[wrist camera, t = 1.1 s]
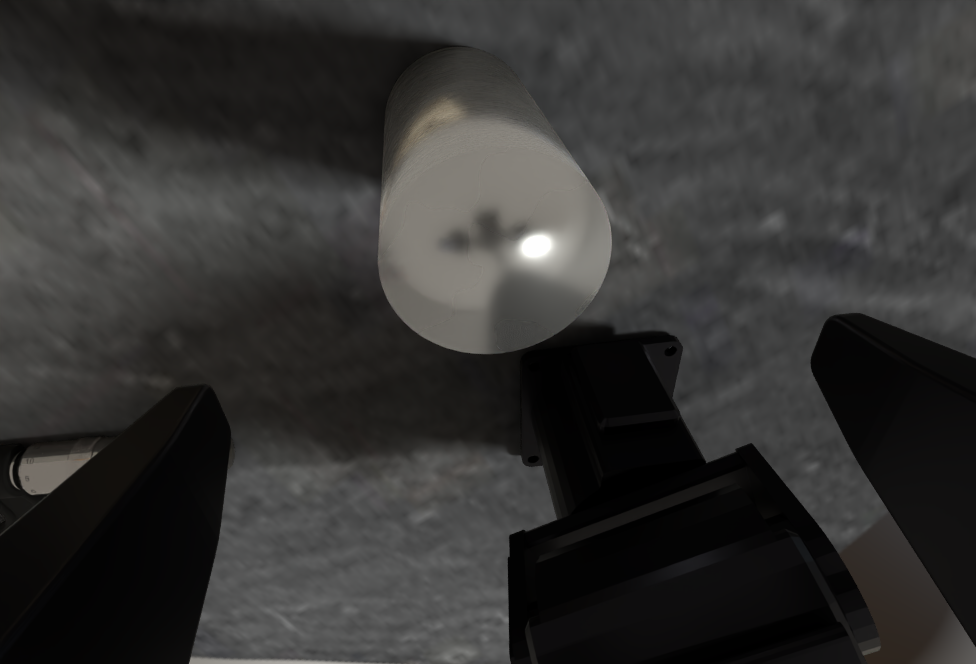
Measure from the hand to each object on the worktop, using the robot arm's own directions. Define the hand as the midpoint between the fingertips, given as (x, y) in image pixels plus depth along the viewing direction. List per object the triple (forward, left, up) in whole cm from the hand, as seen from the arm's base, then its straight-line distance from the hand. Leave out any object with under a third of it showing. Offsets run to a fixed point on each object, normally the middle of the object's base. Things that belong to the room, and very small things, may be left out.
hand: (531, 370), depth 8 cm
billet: (0, 0, -11) cm, 11 cm away
